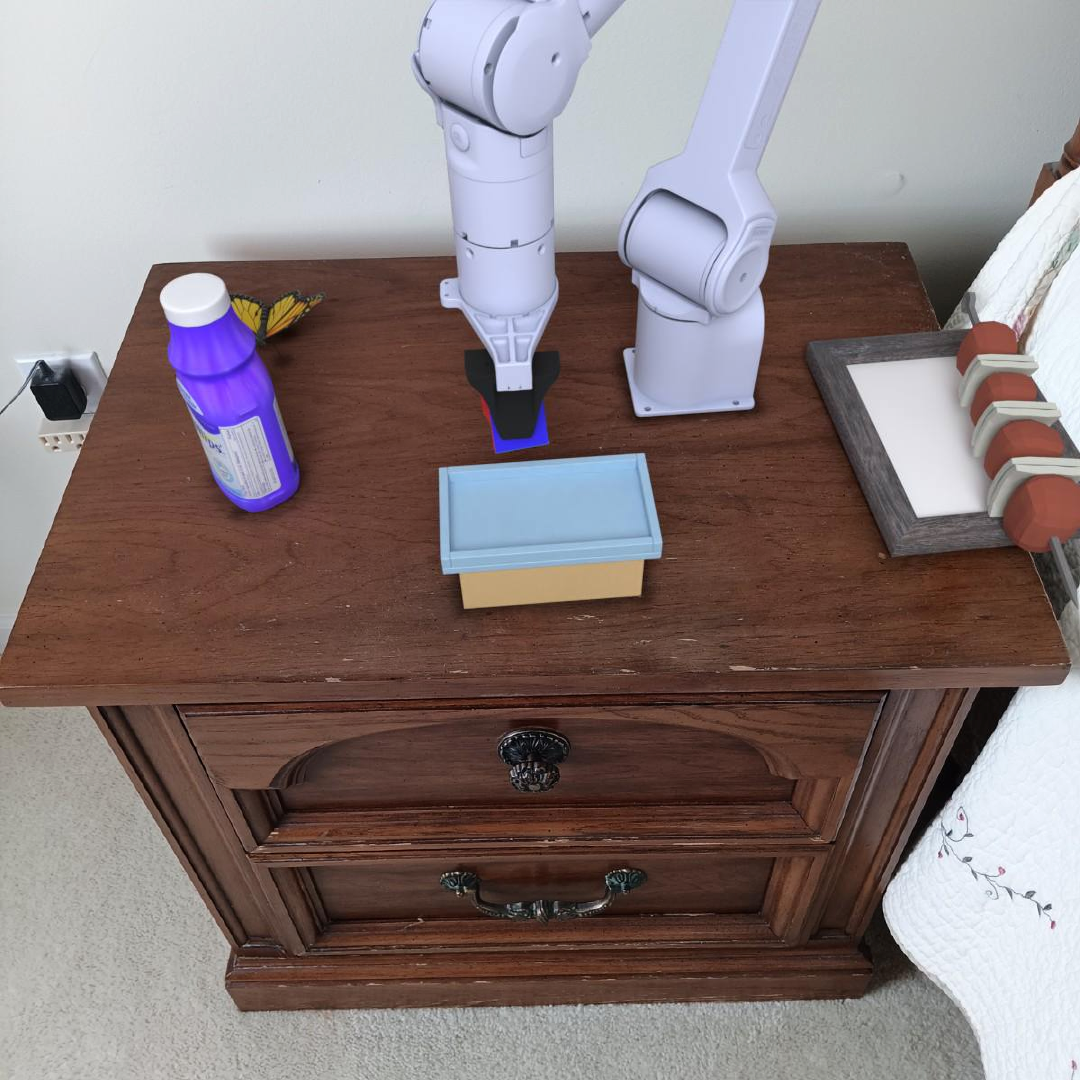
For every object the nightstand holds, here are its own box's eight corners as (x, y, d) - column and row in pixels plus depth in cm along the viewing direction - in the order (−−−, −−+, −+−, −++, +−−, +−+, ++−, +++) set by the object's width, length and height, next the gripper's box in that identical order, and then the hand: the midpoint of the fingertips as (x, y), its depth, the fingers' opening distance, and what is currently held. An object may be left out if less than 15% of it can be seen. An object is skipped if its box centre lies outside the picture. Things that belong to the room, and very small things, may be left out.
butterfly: (188, 386, 83) (169, 337, 79) (204, 319, 88) (187, 271, 84) (333, 377, 83) (321, 329, 79) (339, 311, 89) (329, 263, 85)
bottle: (203, 473, 76) (125, 281, 63) (270, 440, 78) (208, 248, 65) (247, 530, 73) (174, 339, 59) (316, 494, 75) (260, 301, 61)
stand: (639, 510, 73) (644, 452, 68) (656, 599, 68) (663, 542, 63) (447, 525, 72) (438, 467, 68) (449, 615, 67) (440, 559, 63)
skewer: (983, 321, 82) (1097, 633, 63) (926, 319, 82) (1023, 630, 63) (1008, 269, 78) (1137, 585, 59) (947, 267, 78) (1058, 583, 59)
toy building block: (536, 427, 70) (521, 311, 67) (549, 444, 66) (533, 322, 63) (486, 436, 69) (468, 320, 66) (495, 453, 65) (477, 331, 62)
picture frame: (999, 325, 82) (1123, 520, 69) (991, 345, 84) (1110, 539, 70) (808, 341, 81) (897, 542, 68) (803, 360, 82) (889, 561, 69)
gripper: (432, 156, 61) (452, 334, 71) (432, 303, 52) (455, 483, 62) (548, 150, 61) (551, 328, 72) (568, 295, 52) (568, 476, 62)
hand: (513, 400), depth 67 cm, fingers closed on toy building block, 6 cm apart
